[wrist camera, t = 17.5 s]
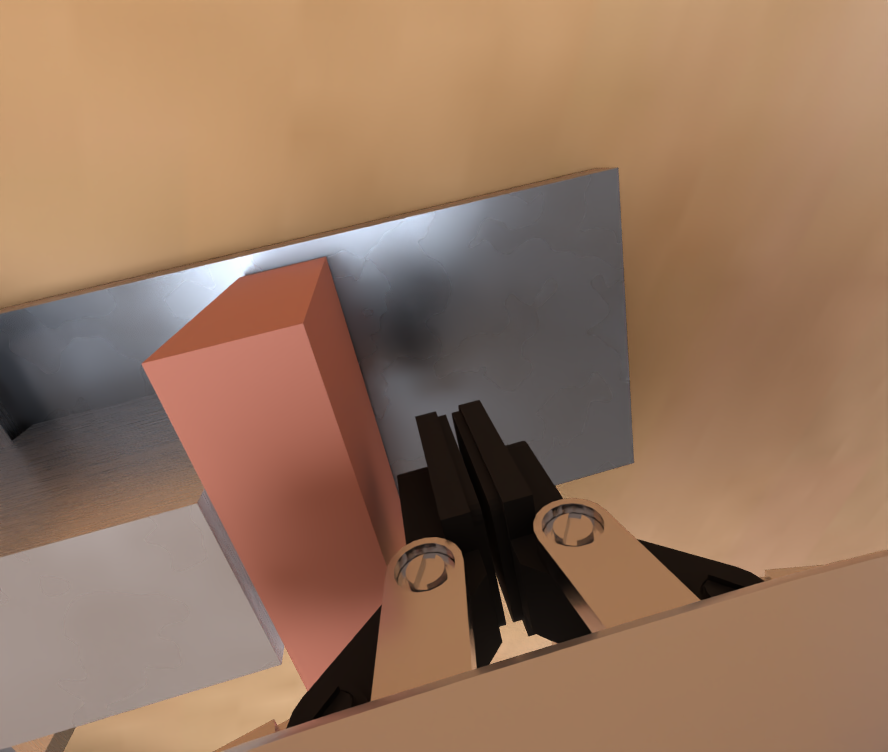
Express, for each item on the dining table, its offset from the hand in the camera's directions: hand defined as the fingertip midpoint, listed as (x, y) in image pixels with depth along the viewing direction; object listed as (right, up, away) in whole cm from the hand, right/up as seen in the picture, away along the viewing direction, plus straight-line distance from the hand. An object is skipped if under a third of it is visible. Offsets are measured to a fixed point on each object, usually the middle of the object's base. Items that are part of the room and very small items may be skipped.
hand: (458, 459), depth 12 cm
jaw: (-4, +1, +4) cm, 6 cm away
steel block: (-9, 0, +4) cm, 10 cm away
